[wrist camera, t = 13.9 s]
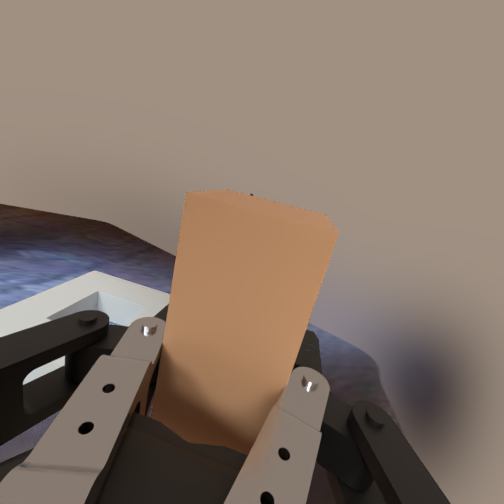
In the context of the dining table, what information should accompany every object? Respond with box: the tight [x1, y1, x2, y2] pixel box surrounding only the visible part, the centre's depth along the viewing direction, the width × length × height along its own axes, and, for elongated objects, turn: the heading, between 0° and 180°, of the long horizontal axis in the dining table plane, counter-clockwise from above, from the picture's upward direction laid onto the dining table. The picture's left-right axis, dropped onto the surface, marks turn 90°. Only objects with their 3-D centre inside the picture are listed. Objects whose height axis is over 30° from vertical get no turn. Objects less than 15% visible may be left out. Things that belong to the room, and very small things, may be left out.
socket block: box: [0, 271, 170, 385], centre depth 23 cm, size 12×12×3 cm
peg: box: [151, 190, 339, 455], centre depth 10 cm, size 4×4×15 cm
